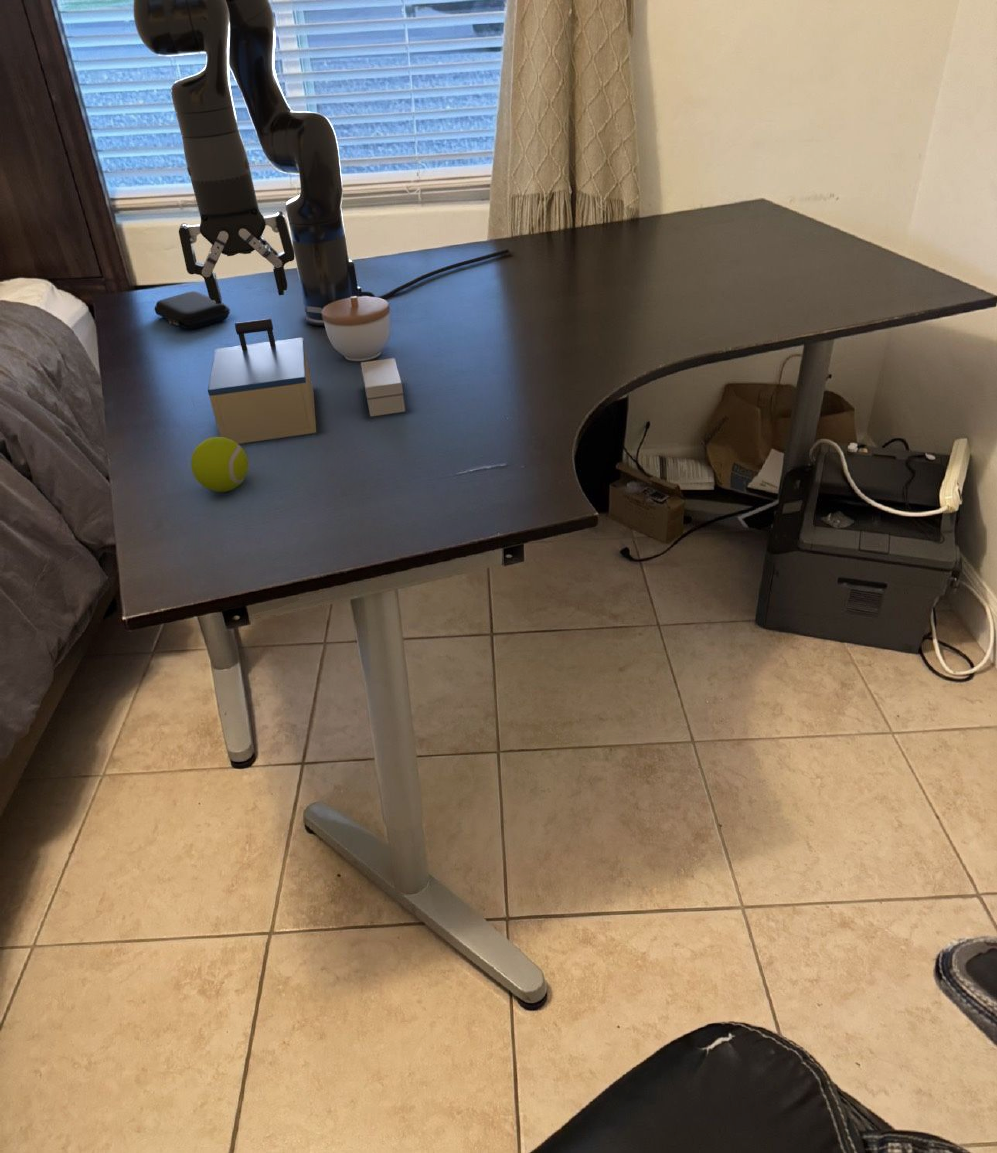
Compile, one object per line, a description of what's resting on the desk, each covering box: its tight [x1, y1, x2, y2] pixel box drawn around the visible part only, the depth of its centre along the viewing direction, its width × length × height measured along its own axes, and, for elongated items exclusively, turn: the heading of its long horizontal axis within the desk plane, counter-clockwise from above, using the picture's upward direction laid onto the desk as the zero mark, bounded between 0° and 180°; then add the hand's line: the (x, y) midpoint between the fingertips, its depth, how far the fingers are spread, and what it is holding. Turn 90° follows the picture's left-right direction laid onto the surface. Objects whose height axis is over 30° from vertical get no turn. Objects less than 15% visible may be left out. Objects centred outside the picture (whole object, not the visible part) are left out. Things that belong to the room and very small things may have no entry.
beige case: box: [360, 357, 406, 418], centre depth 125 cm, size 10×5×4 cm, turn 11°
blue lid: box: [207, 318, 306, 396], centre depth 119 cm, size 15×13×5 cm
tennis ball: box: [190, 436, 249, 493], centre depth 106 cm, size 7×7×7 cm
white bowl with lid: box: [321, 296, 392, 362], centre depth 139 cm, size 11×11×9 cm
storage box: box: [208, 345, 317, 445], centre depth 122 cm, size 15×13×7 cm
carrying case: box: [154, 290, 231, 330], centre depth 161 cm, size 11×3×15 cm
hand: (250, 298), depth 120 cm, fingers open, 8 cm apart
